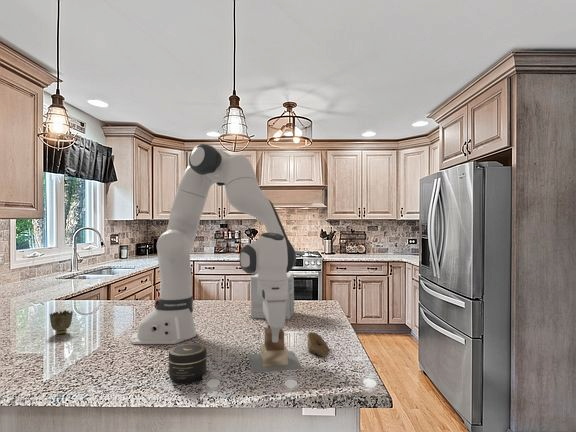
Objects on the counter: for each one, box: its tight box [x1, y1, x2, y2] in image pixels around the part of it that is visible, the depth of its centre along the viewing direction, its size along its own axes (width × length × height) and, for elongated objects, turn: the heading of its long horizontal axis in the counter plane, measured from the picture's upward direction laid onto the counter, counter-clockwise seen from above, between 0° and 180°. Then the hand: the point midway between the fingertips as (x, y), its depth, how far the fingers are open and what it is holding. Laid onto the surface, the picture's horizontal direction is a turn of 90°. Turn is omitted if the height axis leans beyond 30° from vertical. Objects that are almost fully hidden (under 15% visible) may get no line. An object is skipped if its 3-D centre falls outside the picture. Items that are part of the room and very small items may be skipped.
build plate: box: [247, 350, 303, 374], centre depth 108 cm, size 14×14×1 cm
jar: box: [167, 343, 208, 385], centre depth 100 cm, size 10×10×8 cm
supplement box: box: [250, 272, 295, 320], centre depth 165 cm, size 17×13×18 cm
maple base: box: [260, 343, 288, 367], centre depth 108 cm, size 7×7×4 cm
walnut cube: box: [264, 327, 285, 351], centre depth 109 cm, size 5×5×5 cm
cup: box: [49, 309, 73, 336], centre depth 140 cm, size 8×7×8 cm
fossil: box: [306, 331, 330, 358], centre depth 116 cm, size 9×4×10 cm
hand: (272, 336), depth 108 cm, fingers open, 8 cm apart
